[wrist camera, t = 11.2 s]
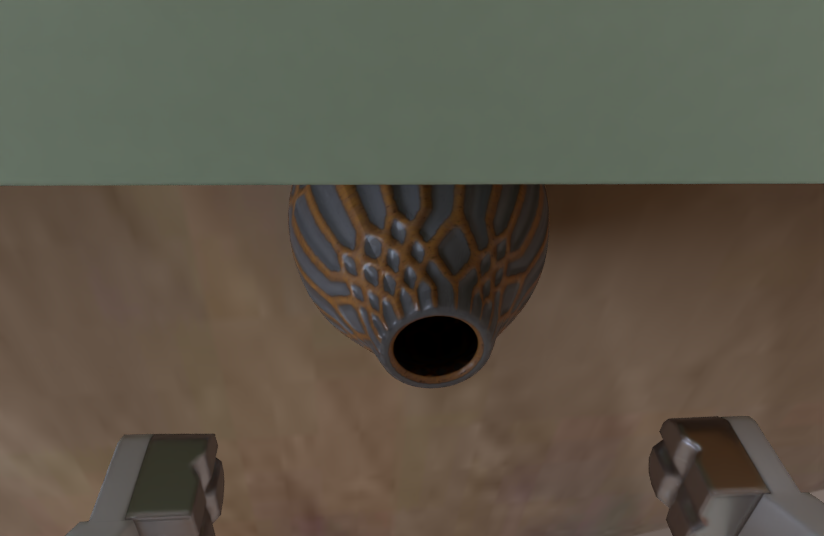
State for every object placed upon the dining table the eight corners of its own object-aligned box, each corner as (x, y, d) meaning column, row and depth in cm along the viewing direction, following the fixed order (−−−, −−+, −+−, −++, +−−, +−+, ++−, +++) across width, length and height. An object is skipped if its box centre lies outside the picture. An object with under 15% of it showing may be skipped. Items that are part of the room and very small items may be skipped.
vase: (398, 275, 23) (415, 489, 16) (251, 147, 20) (194, 348, 13) (558, 161, 21) (659, 354, 14) (423, -8, 17) (468, 136, 10)
